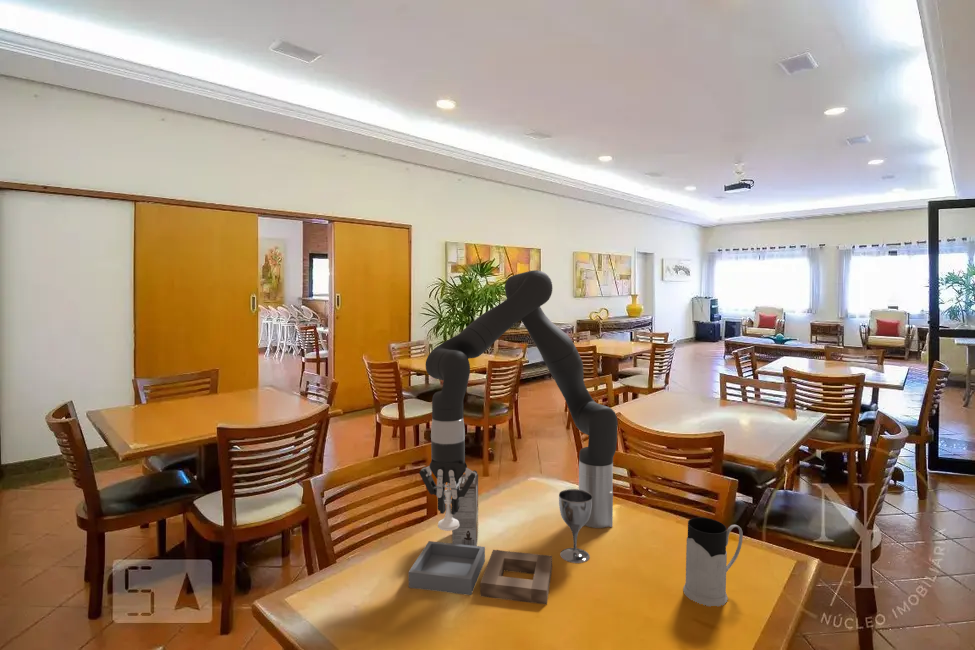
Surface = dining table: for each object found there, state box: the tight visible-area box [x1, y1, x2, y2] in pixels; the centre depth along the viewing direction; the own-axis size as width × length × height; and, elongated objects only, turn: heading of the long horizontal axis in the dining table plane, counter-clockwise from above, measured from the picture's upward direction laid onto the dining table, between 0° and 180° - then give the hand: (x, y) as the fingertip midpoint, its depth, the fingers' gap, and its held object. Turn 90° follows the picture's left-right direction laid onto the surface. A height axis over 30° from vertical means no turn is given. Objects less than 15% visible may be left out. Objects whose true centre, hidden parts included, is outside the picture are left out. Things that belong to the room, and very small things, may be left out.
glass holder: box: [683, 517, 744, 607], centre depth 108 cm, size 9×14×15 cm, turn 111°
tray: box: [408, 540, 486, 596], centre depth 115 cm, size 14×14×4 cm
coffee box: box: [451, 473, 479, 546], centre depth 130 cm, size 9×6×16 cm
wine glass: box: [558, 488, 592, 564], centre depth 122 cm, size 8×8×15 cm
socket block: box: [479, 549, 553, 605], centre depth 111 cm, size 14×14×3 cm
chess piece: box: [437, 482, 460, 532], centre depth 114 cm, size 5×5×10 cm
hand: (448, 512), depth 114 cm, fingers closed on chess piece
